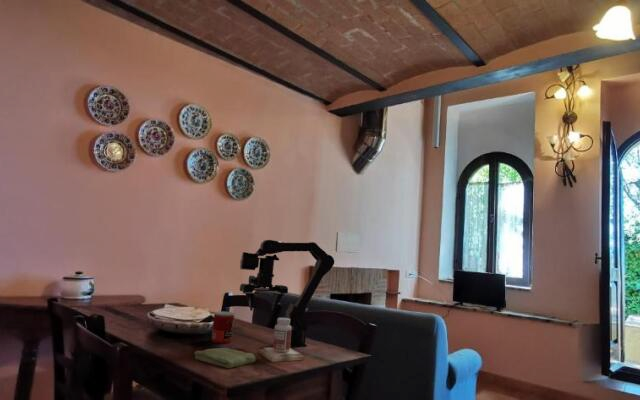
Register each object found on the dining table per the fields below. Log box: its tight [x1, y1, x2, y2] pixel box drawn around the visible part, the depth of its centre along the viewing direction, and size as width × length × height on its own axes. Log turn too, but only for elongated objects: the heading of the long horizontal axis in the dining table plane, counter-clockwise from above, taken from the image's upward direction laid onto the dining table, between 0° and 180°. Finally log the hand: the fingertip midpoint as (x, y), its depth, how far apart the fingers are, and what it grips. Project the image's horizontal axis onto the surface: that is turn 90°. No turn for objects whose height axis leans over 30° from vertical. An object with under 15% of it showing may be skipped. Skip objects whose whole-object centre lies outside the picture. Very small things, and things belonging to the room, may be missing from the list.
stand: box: [258, 346, 305, 363], centre depth 149 cm, size 12×12×2 cm
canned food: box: [211, 310, 235, 345], centre depth 166 cm, size 8×8×11 cm
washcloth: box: [194, 347, 256, 369], centre depth 139 cm, size 13×18×3 cm
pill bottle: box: [272, 317, 292, 352], centre depth 150 cm, size 6×6×11 cm
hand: (262, 310), depth 167 cm, fingers open, 9 cm apart
